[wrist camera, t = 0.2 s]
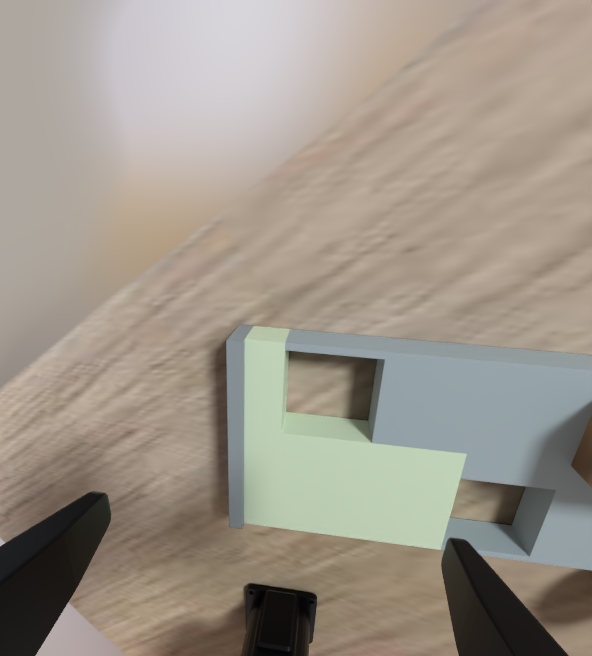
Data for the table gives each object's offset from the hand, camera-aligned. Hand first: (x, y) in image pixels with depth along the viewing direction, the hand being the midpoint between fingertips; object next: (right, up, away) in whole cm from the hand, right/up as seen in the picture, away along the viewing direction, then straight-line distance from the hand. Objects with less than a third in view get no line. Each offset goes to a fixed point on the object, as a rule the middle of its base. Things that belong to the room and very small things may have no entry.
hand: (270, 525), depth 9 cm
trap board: (+10, -3, +15) cm, 19 cm away
